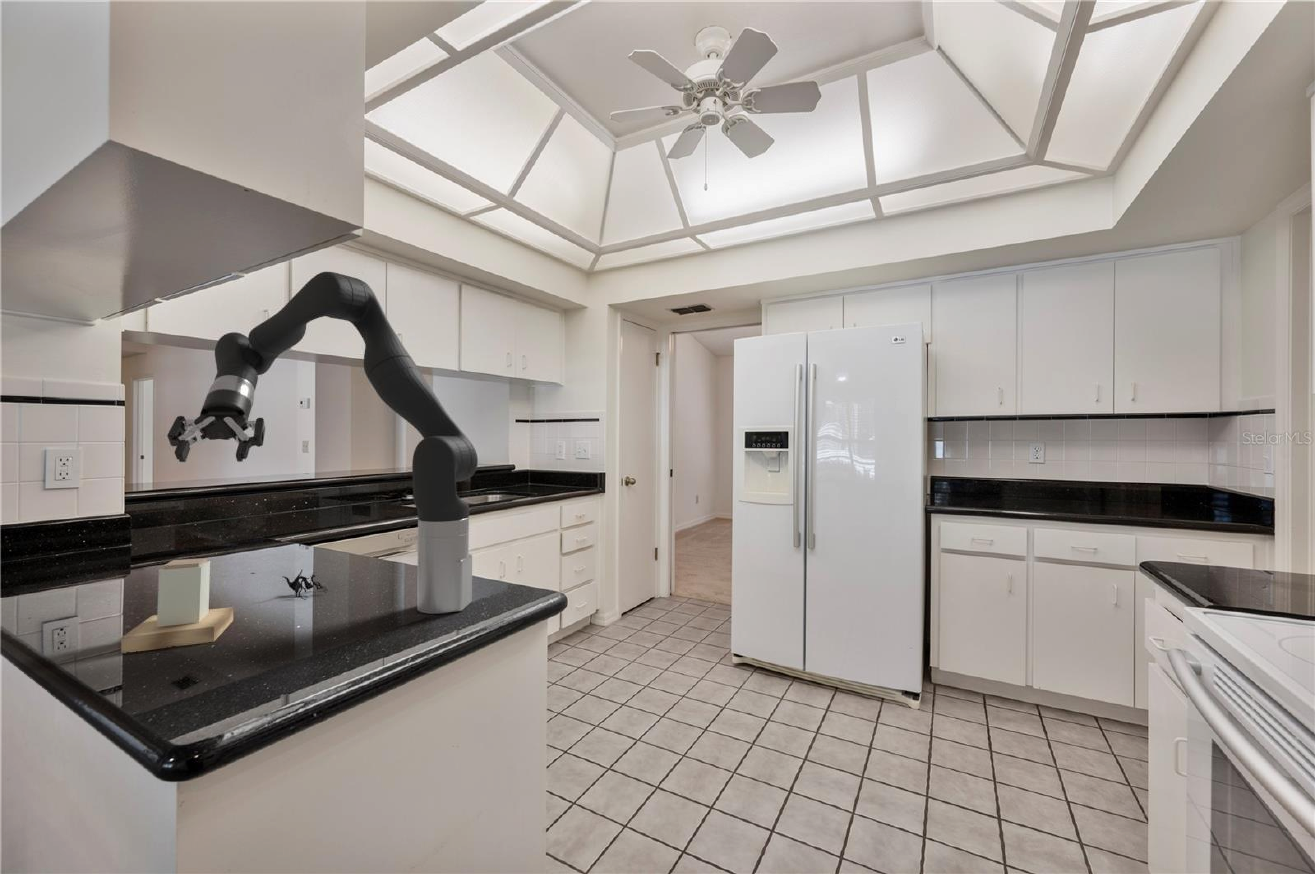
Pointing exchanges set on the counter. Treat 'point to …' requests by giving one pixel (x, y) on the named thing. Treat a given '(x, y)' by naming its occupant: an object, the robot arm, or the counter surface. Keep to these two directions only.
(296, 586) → the creature
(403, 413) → the robot arm
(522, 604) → the counter surface
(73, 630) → the counter surface
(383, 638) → the counter surface
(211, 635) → the base slab
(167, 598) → the pale green upright block
